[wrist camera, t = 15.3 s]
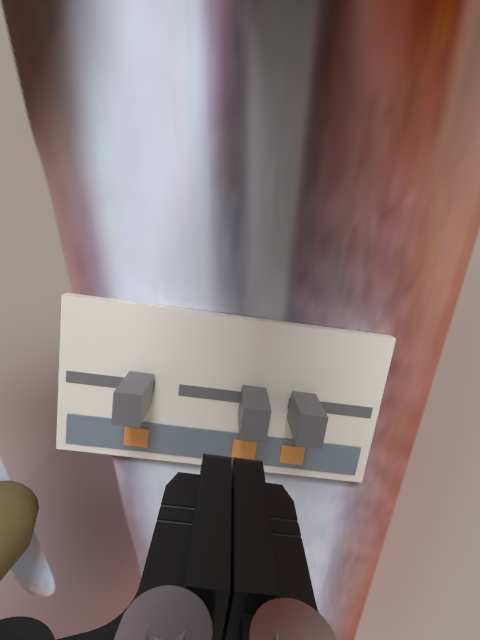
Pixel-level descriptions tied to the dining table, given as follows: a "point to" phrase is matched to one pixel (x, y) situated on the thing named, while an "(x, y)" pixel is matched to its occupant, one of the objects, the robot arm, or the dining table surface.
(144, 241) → the dining table surface
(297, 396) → the slider
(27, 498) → the squeeze bottle
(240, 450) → the switch panel
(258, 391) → the slider middle
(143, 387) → the slider
